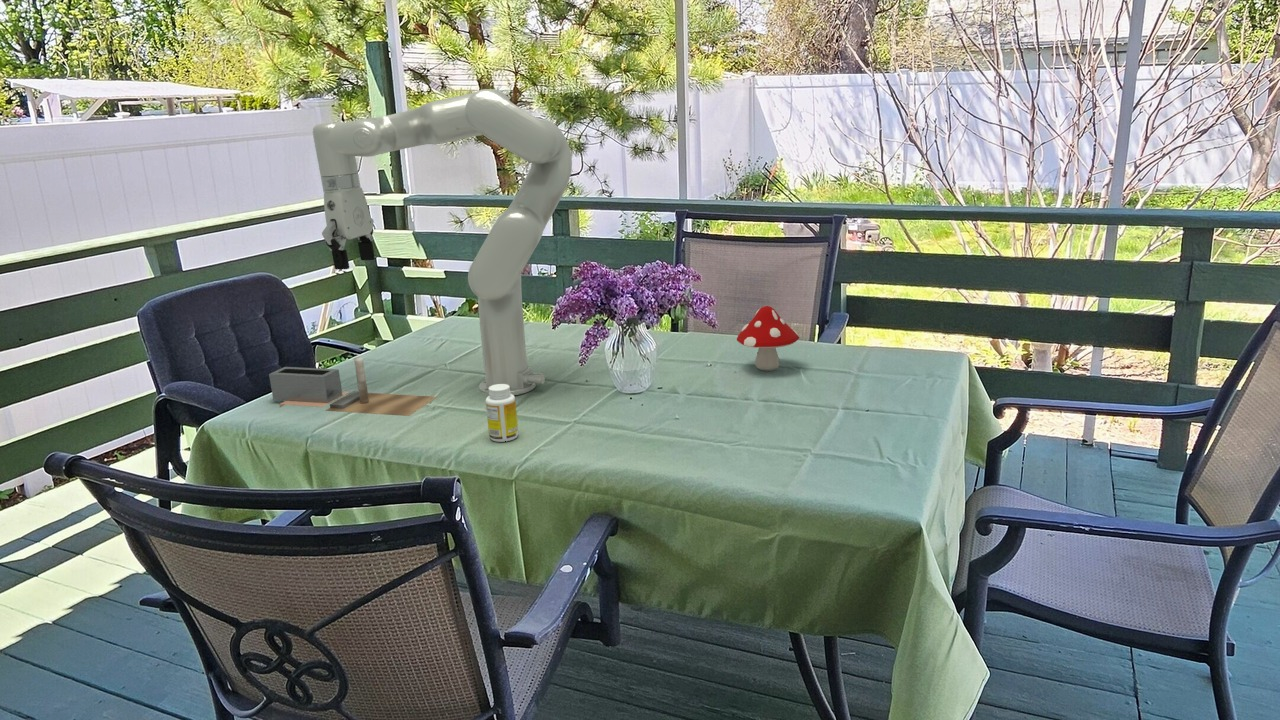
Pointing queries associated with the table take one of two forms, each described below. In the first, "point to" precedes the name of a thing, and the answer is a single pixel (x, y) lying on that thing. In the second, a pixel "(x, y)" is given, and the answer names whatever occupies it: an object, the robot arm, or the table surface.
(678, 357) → the table surface
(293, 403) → the terracotta tile
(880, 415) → the table surface
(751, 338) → the decorative mushroom
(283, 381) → the steel link
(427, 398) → the post block
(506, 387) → the supplement bottle
